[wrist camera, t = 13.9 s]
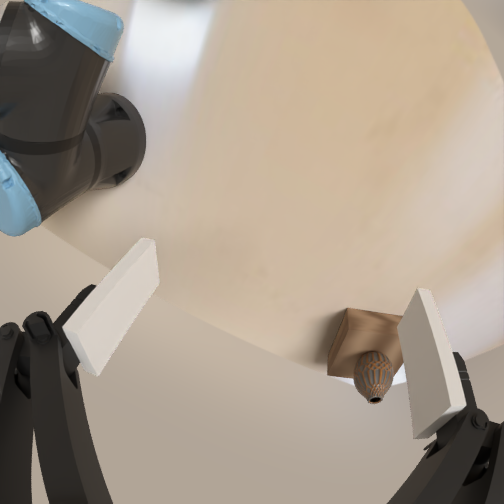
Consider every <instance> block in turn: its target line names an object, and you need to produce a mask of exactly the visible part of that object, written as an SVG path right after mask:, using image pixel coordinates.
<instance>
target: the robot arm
mask: <svg viewBox="0 0 504 504" xmlns="http://www.w3.org/2000/svg"><path fill="white" fill-rule="evenodd" d="M123 29H124V24H123V21H122V19H121V18H120V17H119V16H118V15H117V14H115V13H112V12H110V11H107V10H105V9H102V8H99V7H97V6H94V5H91V4H88V3H85V2H82V1H79V0H24V1H23V2H12V1H11V2H10V1H7V2H5V3H4V4H2V5H1V6H0V231H2V232H3V233H5V234H7V235H9V236H20V235H23V234H24V233H26V232H27V231H29V230H31V229H32V228H34V227H38V226H39V225H40V224H41V222H43V221H44V220H45V219H47V218H48V217H50V216H51V215H52V214H54V213H55V212H56V211H58V210H59V209H61V208H62V207H64V206H65V205H66V204H68V203H69V202H71V201H72V200H74V199H75V198H77V197H79V196H80V195H82V194H83V193H85V192H86V191H88V190H95V189H103V188H111V187H114V186H117V185H119V184H121V183H122V182H124V181H126V180H127V179H129V178H130V177H131V176H133V175H134V174H135V172H136V171H137V170H138V168H139V167H140V165H141V163H142V160H143V158H144V154H145V148H146V133H145V128H144V124H143V121H142V118H141V116H140V114H139V112H138V111H137V109H136V108H135V107H134V105H133V104H132V103H131V102H130V101H129V100H127V99H126V98H124V97H123V96H121V95H118V94H114V93H102V94H98V92H99V89H100V87H101V84H102V82H103V79H104V77H105V75H106V72H107V70H108V68H109V65H110V63H111V62H113V60H114V57H113V55H114V53H115V50H116V47H117V45H118V42H119V40H120V38H121V36H122V33H123ZM159 283H160V280H159V272H158V264H157V255H156V245H155V240H153V239H148V238H143V237H142V238H141V239H140V240H139V241H138V242H137V243H136V244H135V245H134V246H133V247H132V248H131V249H130V250H129V251H128V252H127V253H126V255H125V256H124V257H123V258H122V259H121V260H120V261H119V262H118V263H117V264H116V265H115V266H114V267H113V269H112V270H111V271H110V272H109V273H108V274H107V275H106V276H105V278H104V279H103V280H102V281H101V282H100V283H99V284H98V285H97V286H96V285H92V284H91V285H89V286H88V287H86V288H84V289H83V290H82V291H81V292H80V293H79V294H78V295H77V296H76V299H74V300H73V301H72V302H71V304H70V305H69V306H68V307H67V308H66V309H65V310H64V311H63V312H62V314H61V315H60V316H59V317H58V318H57V320H56V321H55V322H54V323H52V320H51V318H50V316H49V315H48V314H47V313H46V312H43V311H38V312H34V313H32V314H30V315H29V316H28V317H27V318H26V319H25V320H24V322H23V325H22V327H23V328H24V330H25V332H22V331H21V330H20V328H19V326H18V325H17V324H16V323H13V322H9V323H6V324H4V325H2V326H1V327H0V504H32V493H31V463H32V443H33V430H34V432H35V439H36V445H37V451H38V457H39V462H40V467H41V472H42V476H43V481H44V485H45V489H46V493H47V497H48V500H49V504H113V502H112V500H111V497H110V494H109V492H108V489H107V486H106V483H105V480H104V477H103V474H102V471H101V468H100V465H99V462H98V459H97V455H96V452H95V448H94V445H93V441H92V437H91V434H90V429H89V425H88V421H87V416H86V412H85V407H84V402H83V397H82V391H81V386H80V380H79V374H78V370H77V366H78V365H79V363H81V365H82V367H83V369H84V370H85V371H87V372H89V373H91V374H93V375H95V376H99V375H100V373H101V371H102V370H103V368H104V367H105V365H106V364H107V362H108V360H109V359H110V357H111V356H112V353H113V352H114V351H115V349H116V348H117V346H118V345H119V343H120V341H121V340H122V338H123V337H124V335H125V333H126V332H127V331H128V329H129V328H130V326H131V325H132V323H133V322H134V320H135V319H136V317H137V316H138V314H139V313H140V311H141V310H142V308H143V307H144V305H145V304H146V302H147V301H148V299H149V298H150V296H151V295H152V294H153V292H154V291H155V289H156V288H157V286H158V285H159ZM397 329H398V334H399V339H400V344H401V350H402V355H403V361H404V366H405V372H406V379H407V385H408V393H409V400H410V408H411V417H412V427H413V439H422V438H429V437H430V436H432V435H433V434H434V433H435V432H436V435H437V439H436V440H434V441H433V442H431V443H430V444H429V445H427V446H426V447H425V448H424V450H427V449H428V448H429V449H428V450H427V452H426V454H425V455H424V456H423V458H422V459H421V461H420V462H419V464H418V465H417V466H416V468H415V469H414V471H413V472H412V473H411V475H410V476H409V477H408V479H407V480H406V481H405V483H404V484H403V485H402V486H401V487H400V489H399V490H398V491H397V492H396V494H395V495H394V496H393V497H392V498H391V500H390V501H389V502H388V503H387V504H504V422H502V423H501V424H498V423H494V422H491V421H489V419H488V417H487V415H486V414H485V412H484V411H482V410H480V409H477V406H476V402H475V398H474V394H473V390H472V386H471V382H470V380H469V375H468V373H467V369H466V365H465V362H464V360H463V359H462V357H461V356H460V354H459V353H458V352H452V349H451V346H450V343H449V340H448V337H447V334H446V331H445V328H444V325H443V323H442V320H441V317H440V314H439V312H438V309H437V306H436V304H435V301H434V299H433V296H432V294H431V291H430V290H428V289H422V288H417V290H416V292H415V294H414V296H413V298H412V300H411V302H410V304H409V306H408V308H407V309H406V311H405V313H404V315H403V317H402V319H401V321H400V323H399V324H398V326H397ZM488 463H489V464H488Z"/></svg>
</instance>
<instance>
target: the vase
mask: <svg viewBox="0 0 504 504" xmlns="http://www.w3.org/2000/svg"><path fill="white" fill-rule="evenodd" d="M393 376H394V372H393V366H392V363H391V361H390V360H389V358H388V357H387V356H386V355H384V354H383V353H380V352H375V351H374V352H368V353H366V354H364V355H363V356H362V357H361V358H360V359H359V360H358V361H357V363H356V365H355V368H354V373H353V379H354V384H355V387H356V389H357V390H358V392H359V393H360V394H361V395H363V396H364V397H365V398H366V399H367V401H368V403H370V404H376V403H379V402H381V401H382V400H383V397H384V395H385V394H386V392H387V391H388V390H389V388H390V387H391V384H392V381H393Z"/></svg>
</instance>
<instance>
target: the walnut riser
mask: <svg viewBox="0 0 504 504" xmlns="http://www.w3.org/2000/svg"><path fill="white" fill-rule="evenodd" d="M402 317H403V316H398V315H391V314H384V313H377V312H371V311H364V310H358V309H351V308H347V311H346V313H345V316H344V318H343V321H342V323H341V326H340V328H339V331H338V333H337V335H336V338H335V340H334V343H333V345H332V347H331V349H330V352H329V354H328V370H327V375H329V376H336V377H344V378H353V373H354V368H355V365H356V363H357V361H358V360H359V359H360V358H361V357H362V356H363V355H364V354H366V353H368V352H374V351H375V352H380V353H383V354H384V355H386V356H387V357H388V358H389V360H390V361H391V363H392V366H393V372H394V375H395V374H396V372H397V371H398V370H399V368H400V367H401V365H402V364H403V363H404V361H403V355H402V350H401V344H400V339H399V334H398V329H397V326H398V324H399V323H400V321H401V319H402ZM393 377H394V376H393Z"/></svg>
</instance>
